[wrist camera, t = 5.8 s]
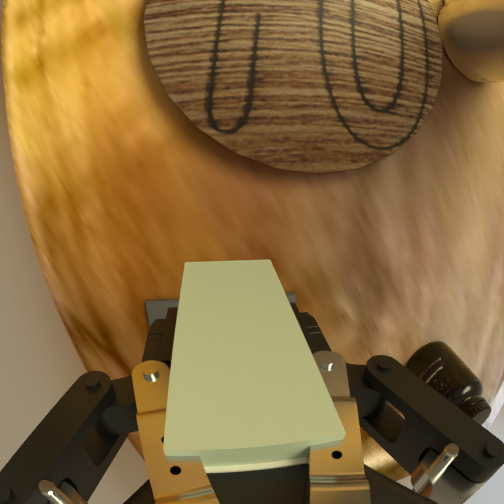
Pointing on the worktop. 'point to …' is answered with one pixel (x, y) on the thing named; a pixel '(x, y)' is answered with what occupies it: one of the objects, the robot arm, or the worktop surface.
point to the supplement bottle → (450, 379)
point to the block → (243, 373)
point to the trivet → (299, 75)
